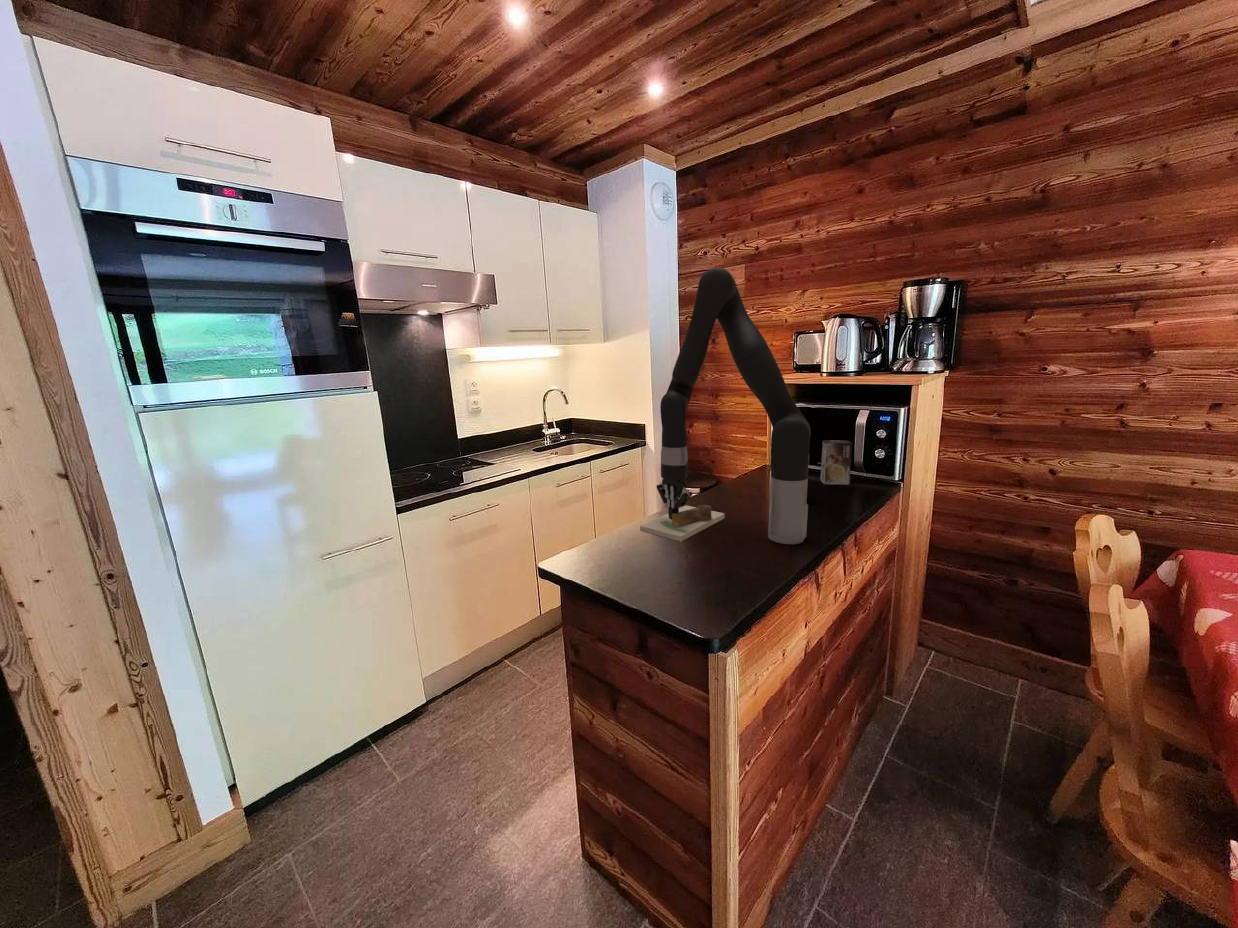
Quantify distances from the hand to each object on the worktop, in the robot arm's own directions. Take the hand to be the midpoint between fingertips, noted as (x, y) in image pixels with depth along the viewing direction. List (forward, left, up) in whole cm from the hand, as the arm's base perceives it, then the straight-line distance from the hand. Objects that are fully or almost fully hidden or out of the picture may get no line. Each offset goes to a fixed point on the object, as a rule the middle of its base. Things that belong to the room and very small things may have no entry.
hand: (673, 519), depth 140 cm
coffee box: (-80, -2, -3) cm, 80 cm away
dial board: (-4, 0, -3) cm, 5 cm away
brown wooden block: (-5, +3, -1) cm, 6 cm away
